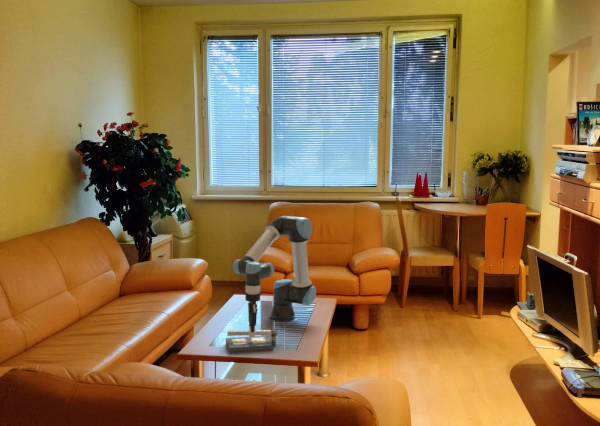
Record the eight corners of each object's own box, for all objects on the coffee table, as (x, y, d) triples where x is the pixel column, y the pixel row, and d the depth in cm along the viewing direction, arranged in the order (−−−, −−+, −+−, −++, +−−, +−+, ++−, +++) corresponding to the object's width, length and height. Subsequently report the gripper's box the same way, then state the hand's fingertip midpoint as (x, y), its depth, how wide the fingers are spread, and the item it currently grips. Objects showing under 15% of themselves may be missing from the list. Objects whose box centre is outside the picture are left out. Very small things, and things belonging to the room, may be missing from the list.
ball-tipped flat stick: (276, 333, 282) (276, 329, 281) (277, 335, 278) (277, 331, 278) (227, 334, 278) (227, 329, 278) (227, 336, 275) (227, 331, 275)
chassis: (272, 340, 287) (273, 330, 287) (278, 350, 274) (279, 339, 273) (225, 343, 281) (225, 333, 280) (229, 353, 267) (229, 343, 267)
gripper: (243, 289, 279) (242, 333, 282) (247, 296, 267) (246, 342, 269) (257, 289, 281) (256, 332, 284) (262, 295, 269) (261, 341, 271)
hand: (251, 337), depth 276 cm, fingers closed
